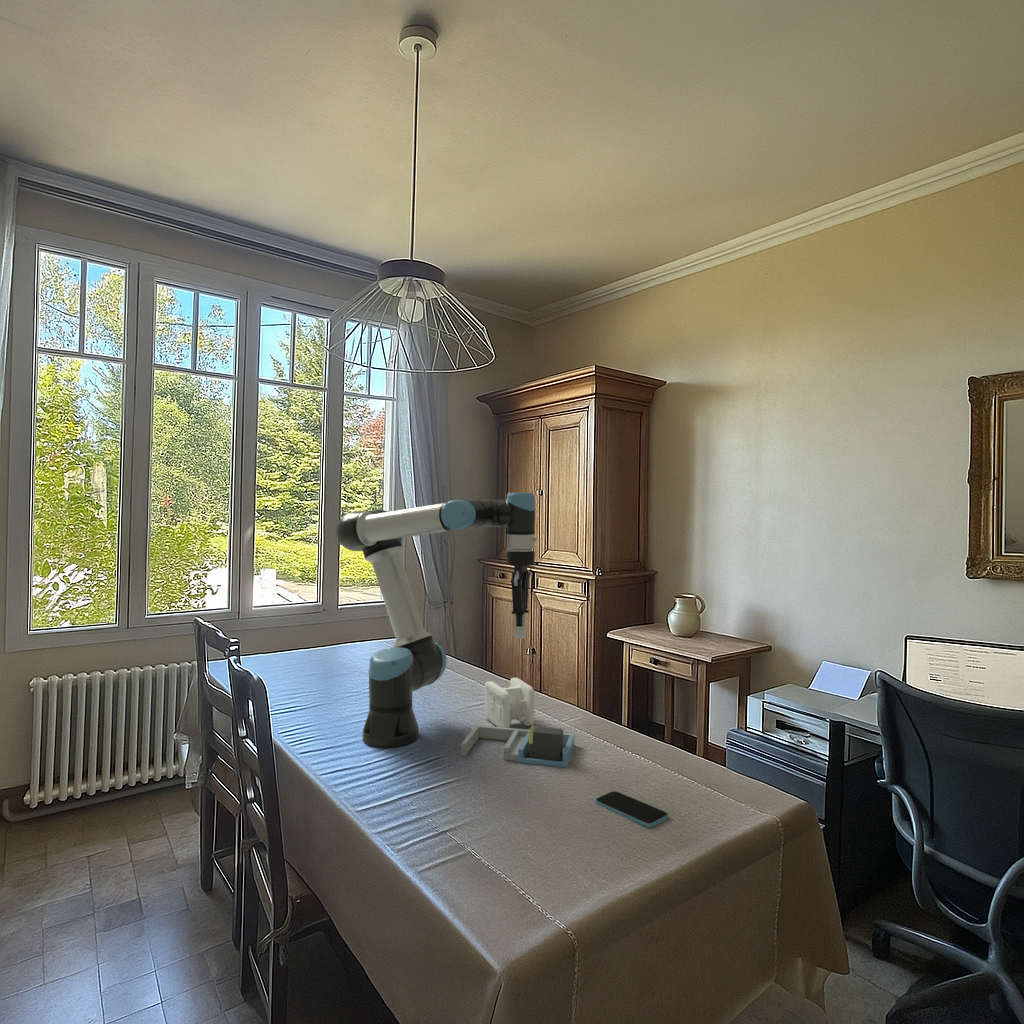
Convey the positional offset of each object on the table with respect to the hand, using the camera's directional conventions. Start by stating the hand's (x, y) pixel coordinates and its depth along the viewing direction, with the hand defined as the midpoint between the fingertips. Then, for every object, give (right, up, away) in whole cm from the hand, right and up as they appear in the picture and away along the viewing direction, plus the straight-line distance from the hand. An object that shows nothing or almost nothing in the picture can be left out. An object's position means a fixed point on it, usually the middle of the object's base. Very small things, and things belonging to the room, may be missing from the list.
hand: (520, 637), depth 173 cm
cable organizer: (-3, -28, +15) cm, 32 cm away
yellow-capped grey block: (+7, -29, -9) cm, 31 cm away
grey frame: (0, -29, -4) cm, 29 cm away
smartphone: (+23, -30, -36) cm, 52 cm away
